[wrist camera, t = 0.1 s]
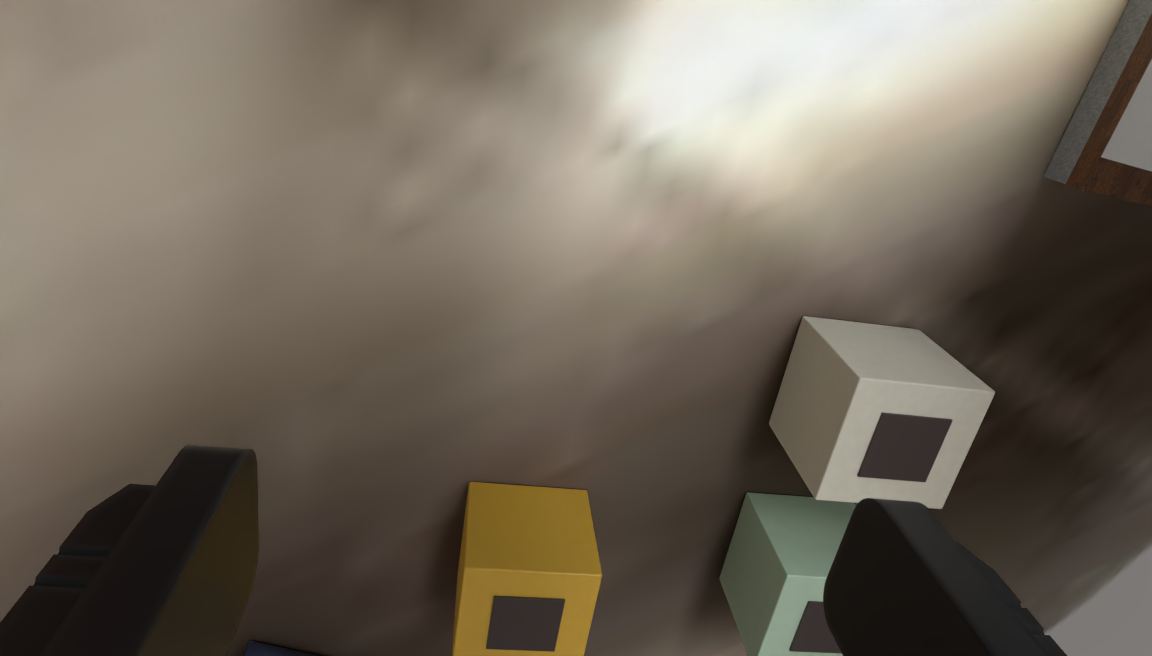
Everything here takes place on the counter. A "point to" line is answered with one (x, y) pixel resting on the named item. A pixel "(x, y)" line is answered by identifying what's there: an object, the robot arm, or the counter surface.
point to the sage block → (783, 573)
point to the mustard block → (525, 572)
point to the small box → (270, 650)
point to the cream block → (876, 412)
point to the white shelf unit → (1114, 118)
